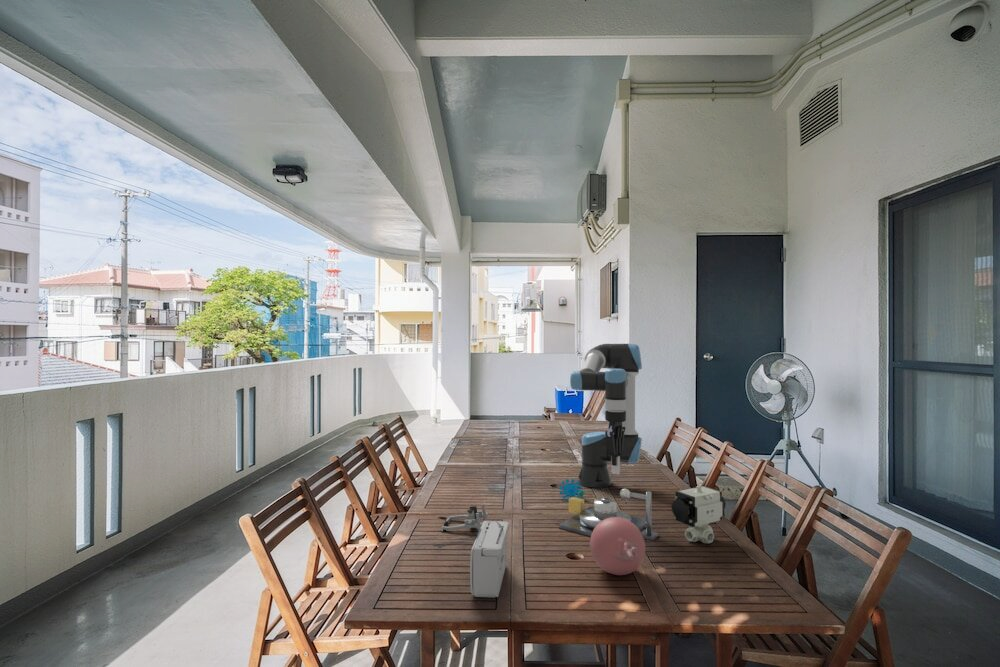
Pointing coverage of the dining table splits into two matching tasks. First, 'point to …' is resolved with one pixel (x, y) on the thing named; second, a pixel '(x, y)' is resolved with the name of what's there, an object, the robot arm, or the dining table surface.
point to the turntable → (589, 513)
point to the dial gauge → (646, 533)
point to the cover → (605, 508)
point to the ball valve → (699, 511)
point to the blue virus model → (571, 489)
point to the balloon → (617, 546)
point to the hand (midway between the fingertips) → (615, 473)
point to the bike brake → (471, 523)
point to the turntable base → (576, 526)
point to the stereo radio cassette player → (488, 559)
